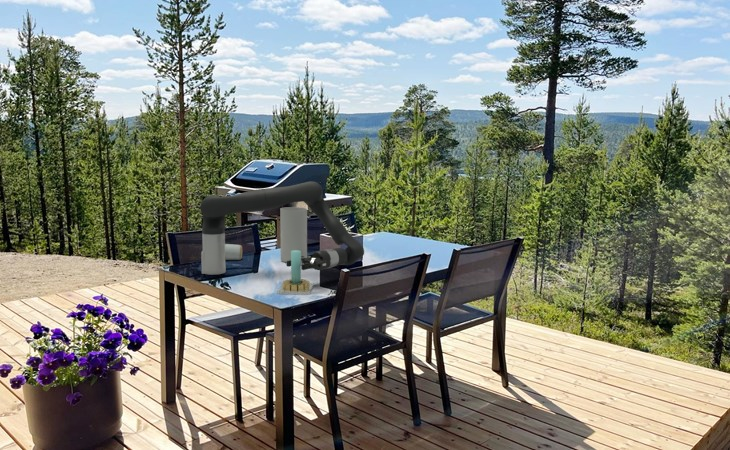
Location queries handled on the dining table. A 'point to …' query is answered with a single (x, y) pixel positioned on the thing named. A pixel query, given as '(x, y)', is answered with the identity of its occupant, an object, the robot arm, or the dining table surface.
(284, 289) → the golden segmented cake
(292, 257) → the pin
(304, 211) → the cylinder vase
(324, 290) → the dining table surface
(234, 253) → the ceramic mug
